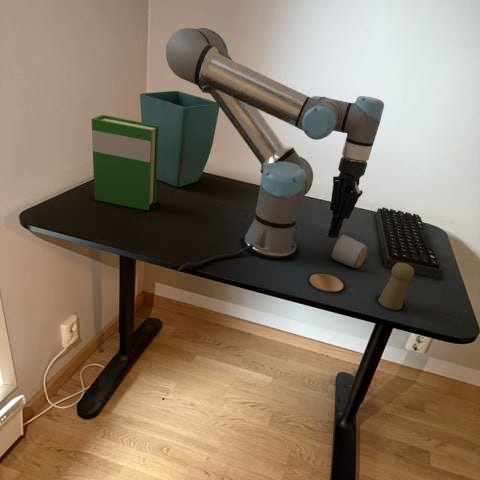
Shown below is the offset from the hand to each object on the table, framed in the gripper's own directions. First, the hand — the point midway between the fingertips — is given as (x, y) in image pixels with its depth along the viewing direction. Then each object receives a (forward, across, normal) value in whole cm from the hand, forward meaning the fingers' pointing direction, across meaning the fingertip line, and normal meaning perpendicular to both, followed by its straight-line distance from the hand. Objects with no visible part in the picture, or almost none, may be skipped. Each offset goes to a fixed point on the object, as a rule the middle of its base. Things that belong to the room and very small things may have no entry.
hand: (332, 236), depth 139 cm
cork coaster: (+3, -22, +13) cm, 26 cm away
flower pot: (+3, +56, +37) cm, 67 cm away
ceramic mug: (+3, -11, 0) cm, 11 cm away
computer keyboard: (+3, +1, -29) cm, 29 cm away
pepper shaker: (+3, -33, 0) cm, 33 cm away
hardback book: (+3, +34, +58) cm, 67 cm away
